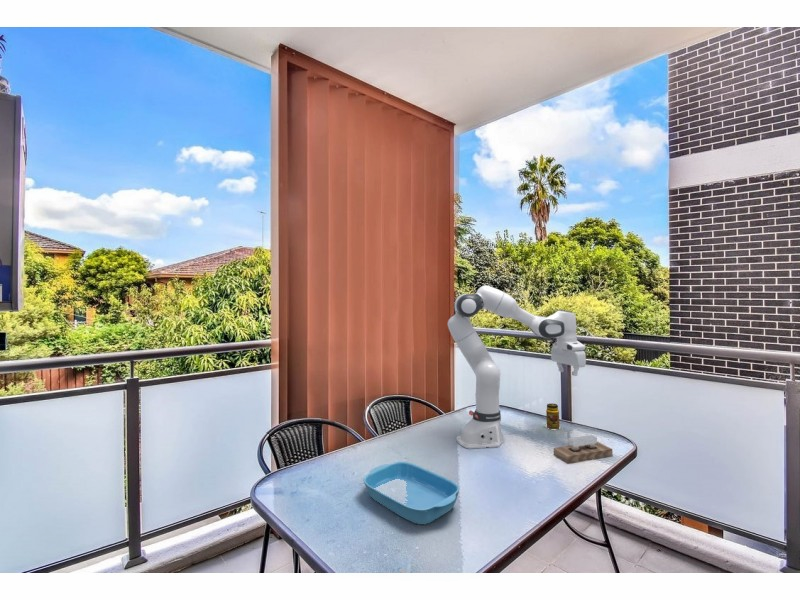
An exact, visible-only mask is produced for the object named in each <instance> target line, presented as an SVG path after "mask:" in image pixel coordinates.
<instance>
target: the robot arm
mask: <svg viewBox="0 0 800 600" xmlns="http://www.w3.org/2000/svg"><path fill="white" fill-rule="evenodd" d="M453 309H454V315H453V316H450V318H449V319H448V320H447V328H448V330H449V333H450V335H451V337H452V339H453V341H454V342H455V344H456V345H457V348H458V349H459V350H460V352H461V354H462V355H463V357H464V358H465V360H466V361H467V363H468V364H469V366H470V368H471V369H472V372H473V373H474V375H475V380H476V381H475V393H474V394H475V410H474V411H473V410H469V411H468V415H469V416H472V418H471V419H469V421H467V422H466V423H465V424H464V425H463V426H462V428H461V430H460V435H457V436H456V442H457V443H458V444H459V445H460V446H461V447H463V448H465V449H470V450H471V449H473V450H474V449H485V448H486V447H489V448H499V447H501V445H502V443H504V441H505V438H504V436H503V431H502V425H501V420H502V417H501V416H502V414H501V410H500V390H501V389H500V386H501V369H500V367H499V366H498V365H497V363H496V362H495V361H494V359H493V358H492V356H491V355H490V353H489V351H488V349H487V348H486V345H485V344H484V342H483V341H482V339H481V337H480V336H479V334H478V333H477V330H476V329H475V327H473V324H472V323H471V317H474V316H476V315H477V314H478V313H479V312H480V311H481V310H482V309H485V310H487V311H489V312H491V313H492V314H495V315H497V316H499V317H503V318H507V319H513V320H515V321H518V322H520V323H521V324H523V325H525V326H526V327H528V328H529V329H530V331H531V332H532V333H533V334H534V335H535V336H537V337H542V338H544V339H553V338H556V342H553V343H552V347H551V350H550V359H551V361H552V362H556V366H557V367H558V372H560V373H564V368H565V367H563V365H568V366H571V367H572V368H573V371H571V375H572V376H573V377H577V376H578V371H579V370H580V368H584V367H585V366H586V364H587V357H586V356H587V355H586V352H585V350H586V345H585V344H583V343H581V342H580V341H578V336H577V330H578V329H577V327H578V326H577V318H576V317H577V316H576V314H575V313H574V312H573V311H570V310H565V309H564V310H563V309H559V310H557V311H555V312H554V313H553V314H551V315H549V316H543V315H534V314H532V313H531V312H529V311H528V310H525V309H524V308H522V307H520V306H519V304H518V303H517V300H516V299H515V298H513V296H511V295H509V294H508V293H506V292H505V291H502V290H500V289H498V288H495V287H493V286H489V285H485V284H484V285H482V286H480V287H479V288H478V289H477V291H476V292H475V293H462V294H459V295H458V296H457V297H456V298H455V300H454V303H453Z"/></svg>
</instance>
